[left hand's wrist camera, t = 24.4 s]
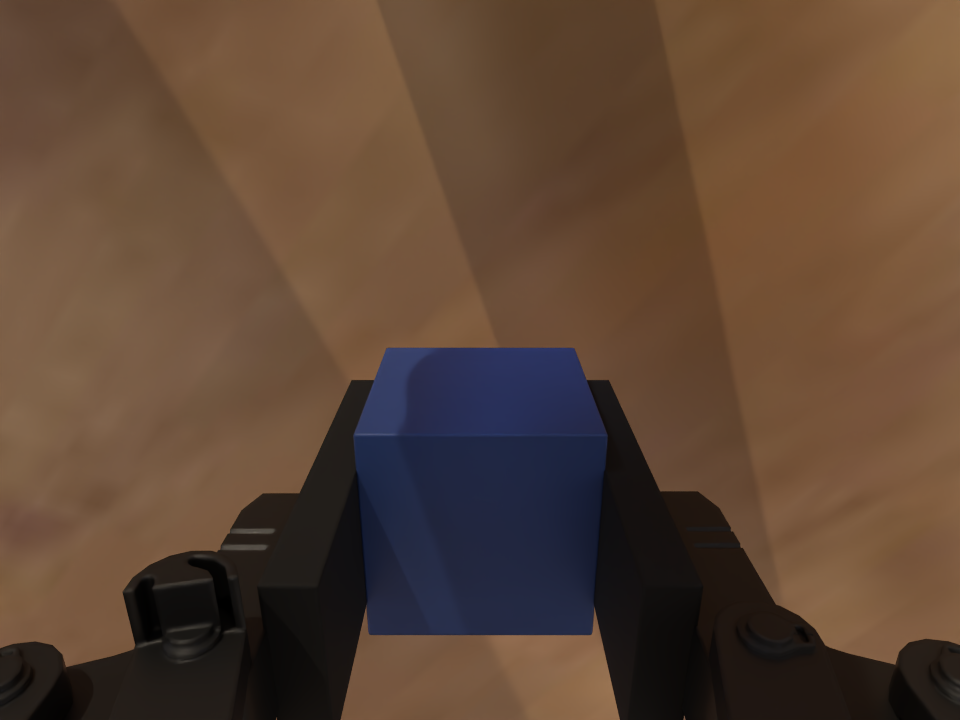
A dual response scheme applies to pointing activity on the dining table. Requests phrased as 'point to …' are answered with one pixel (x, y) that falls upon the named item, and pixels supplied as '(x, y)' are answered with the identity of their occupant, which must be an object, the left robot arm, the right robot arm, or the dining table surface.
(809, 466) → the dining table surface
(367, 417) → the block
